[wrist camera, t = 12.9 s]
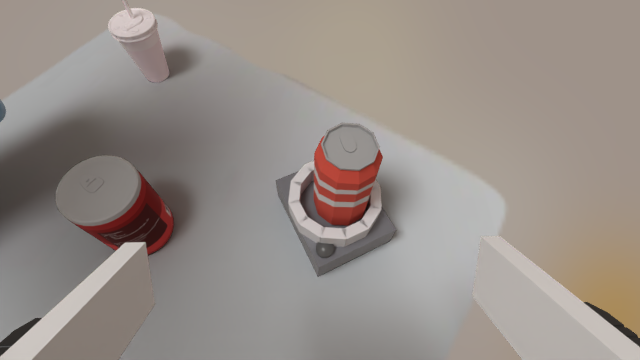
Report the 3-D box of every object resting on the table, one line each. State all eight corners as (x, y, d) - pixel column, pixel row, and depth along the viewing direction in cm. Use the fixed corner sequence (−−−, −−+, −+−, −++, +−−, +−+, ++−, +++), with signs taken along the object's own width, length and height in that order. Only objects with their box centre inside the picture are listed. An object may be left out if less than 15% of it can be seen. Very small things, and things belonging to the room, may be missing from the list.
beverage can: (356, 175, 43) (370, 112, 33) (372, 221, 40) (394, 167, 30) (309, 186, 42) (308, 124, 32) (322, 234, 39) (327, 182, 29)
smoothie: (184, 63, 58) (150, -20, 46) (168, 91, 55) (128, 10, 43) (148, 58, 58) (105, -26, 46) (130, 85, 55) (79, 2, 43)
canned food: (129, 195, 46) (82, 147, 36) (186, 208, 45) (152, 163, 35) (98, 249, 42) (35, 212, 32) (159, 265, 41) (113, 232, 32)
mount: (276, 195, 46) (272, 170, 40) (345, 167, 49) (349, 139, 43) (316, 277, 41) (317, 261, 35) (390, 240, 43) (402, 220, 38)
